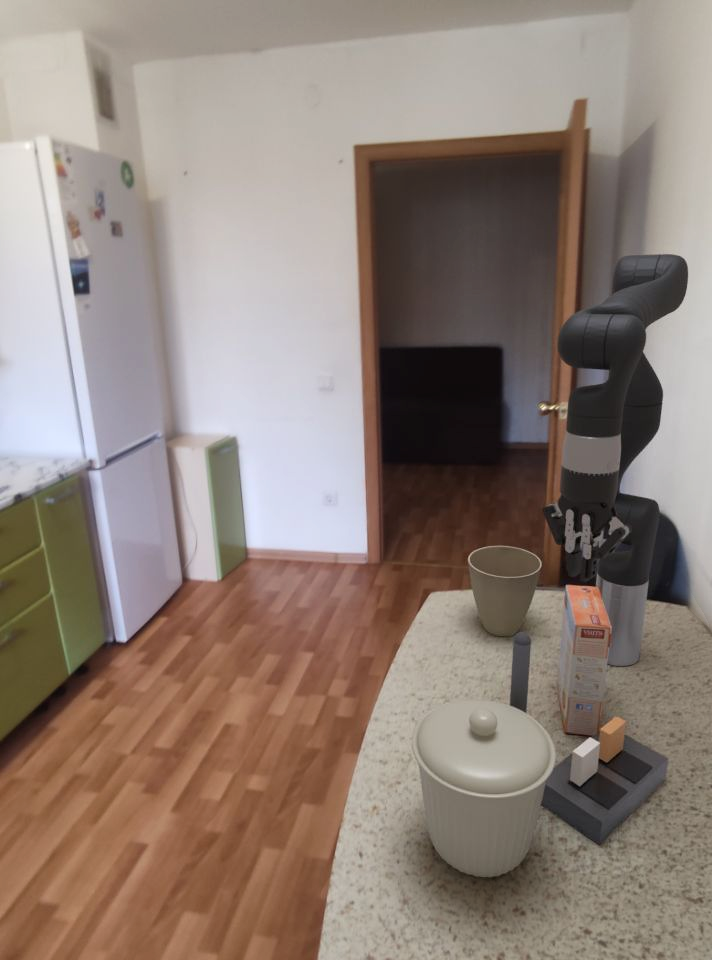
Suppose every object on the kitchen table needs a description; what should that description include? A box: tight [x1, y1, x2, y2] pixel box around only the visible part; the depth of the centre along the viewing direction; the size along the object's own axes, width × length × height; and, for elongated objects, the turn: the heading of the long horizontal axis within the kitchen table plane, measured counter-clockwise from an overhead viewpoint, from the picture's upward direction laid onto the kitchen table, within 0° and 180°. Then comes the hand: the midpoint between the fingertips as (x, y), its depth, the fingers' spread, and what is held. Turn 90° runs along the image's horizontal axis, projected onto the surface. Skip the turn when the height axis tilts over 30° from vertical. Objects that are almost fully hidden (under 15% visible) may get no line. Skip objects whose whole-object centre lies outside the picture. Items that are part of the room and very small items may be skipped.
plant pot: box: [467, 545, 543, 637], centre depth 139 cm, size 15×15×16 cm
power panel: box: [541, 730, 669, 846], centre depth 97 cm, size 18×10×4 cm, turn 129°
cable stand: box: [509, 631, 532, 713], centre depth 96 cm, size 7×7×25 cm
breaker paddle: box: [599, 715, 627, 763], centre depth 98 cm, size 4×2×5 cm, turn 129°
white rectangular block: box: [570, 736, 600, 786], centre depth 94 cm, size 4×2×5 cm, turn 129°
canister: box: [411, 698, 557, 878], centre depth 86 cm, size 18×18×21 cm
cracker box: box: [556, 584, 612, 737], centre depth 112 cm, size 14×6×21 cm, turn 168°
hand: (580, 576), depth 96 cm, fingers closed
